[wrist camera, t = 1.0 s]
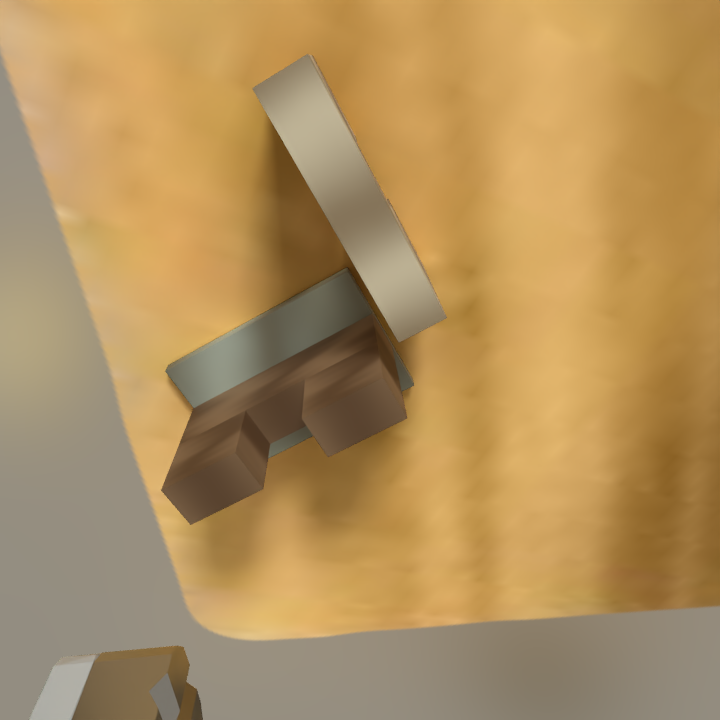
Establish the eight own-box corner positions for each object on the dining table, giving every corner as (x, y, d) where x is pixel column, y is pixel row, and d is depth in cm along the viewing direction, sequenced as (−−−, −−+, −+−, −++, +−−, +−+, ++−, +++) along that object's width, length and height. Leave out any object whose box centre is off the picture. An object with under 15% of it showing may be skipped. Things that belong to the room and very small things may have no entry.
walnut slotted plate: (347, 267, 35) (352, 327, 27) (412, 379, 38) (434, 462, 31) (168, 365, 37) (124, 447, 29) (243, 464, 41) (222, 562, 33)
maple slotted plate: (270, 82, 31) (252, 88, 24) (312, 55, 31) (307, 54, 24) (384, 286, 36) (398, 342, 29) (423, 265, 36) (446, 317, 28)
